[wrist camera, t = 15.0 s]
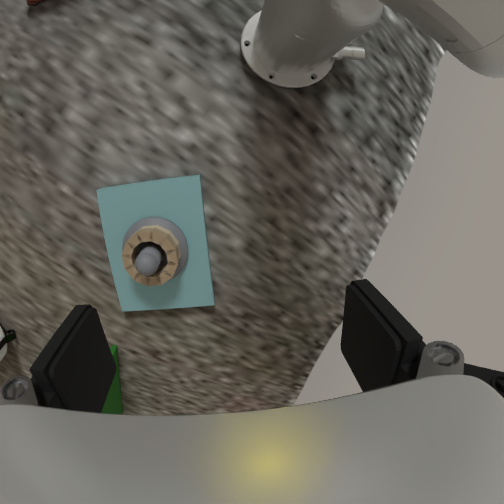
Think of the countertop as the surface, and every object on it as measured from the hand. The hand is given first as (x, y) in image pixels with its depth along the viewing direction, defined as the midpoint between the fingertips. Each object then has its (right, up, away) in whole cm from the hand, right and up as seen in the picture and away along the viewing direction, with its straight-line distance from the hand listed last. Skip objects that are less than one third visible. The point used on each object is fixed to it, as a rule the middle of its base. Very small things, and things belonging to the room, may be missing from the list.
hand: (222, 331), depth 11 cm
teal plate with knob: (-12, +4, +30) cm, 32 cm away
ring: (-12, +3, +28) cm, 30 cm away
